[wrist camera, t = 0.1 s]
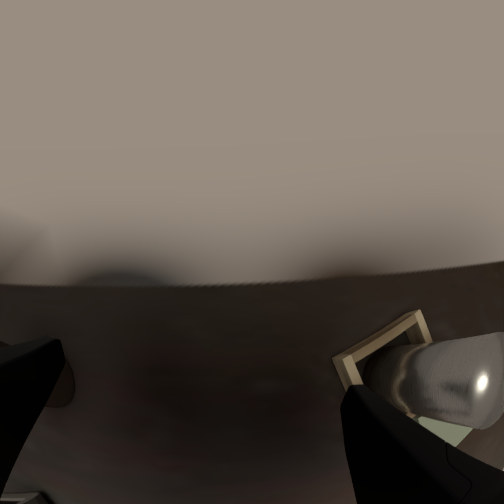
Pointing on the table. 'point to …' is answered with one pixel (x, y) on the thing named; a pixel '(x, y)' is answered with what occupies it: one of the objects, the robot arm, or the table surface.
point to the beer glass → (59, 386)
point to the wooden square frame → (348, 358)
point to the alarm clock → (22, 498)
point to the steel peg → (443, 379)
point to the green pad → (444, 429)
